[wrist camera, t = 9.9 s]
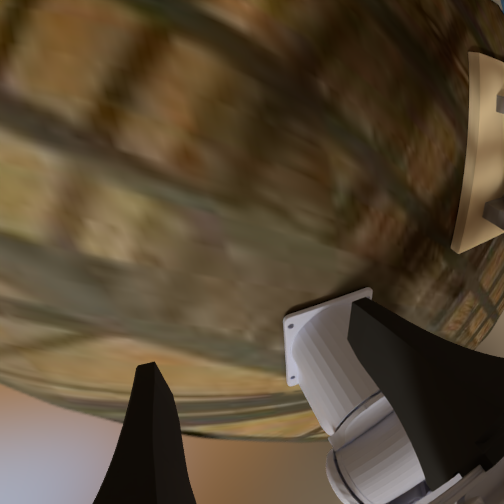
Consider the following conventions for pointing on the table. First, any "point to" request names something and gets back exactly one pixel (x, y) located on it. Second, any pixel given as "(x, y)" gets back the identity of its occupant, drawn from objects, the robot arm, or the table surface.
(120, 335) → the table surface
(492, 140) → the roll holder
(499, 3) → the key chain
